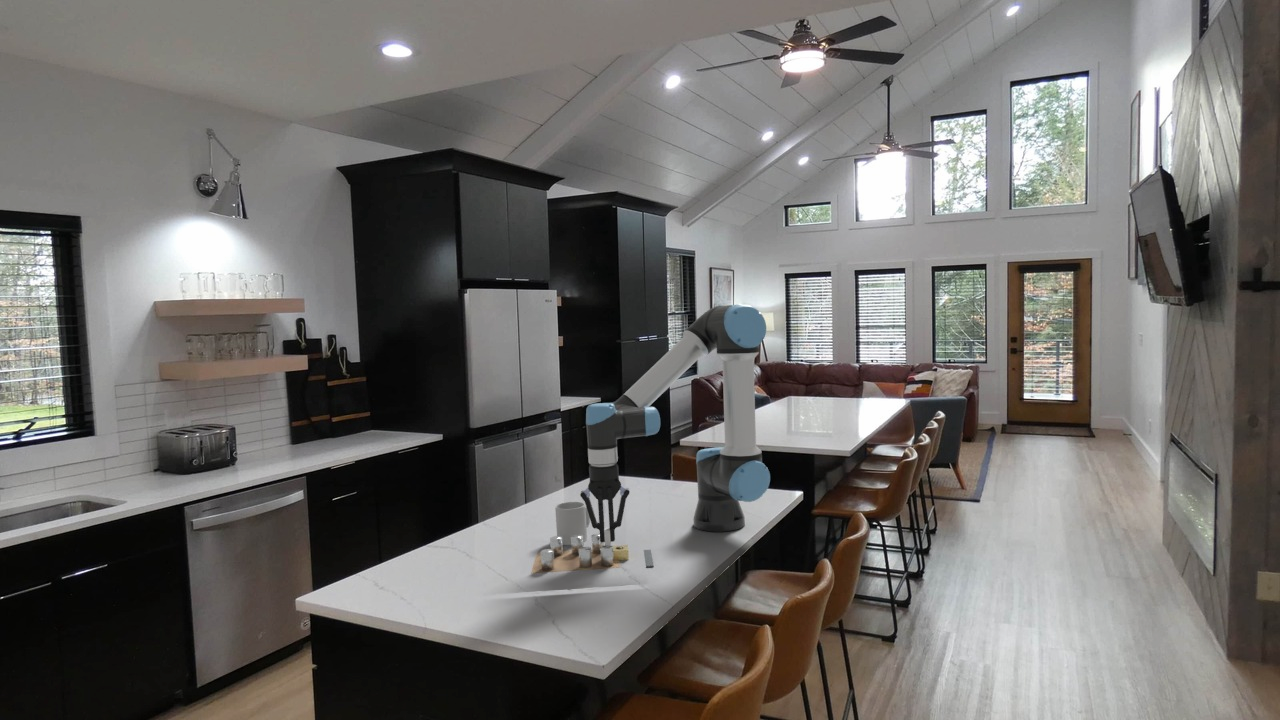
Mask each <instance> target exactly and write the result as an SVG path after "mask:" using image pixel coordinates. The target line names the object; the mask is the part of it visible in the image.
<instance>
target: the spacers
mask: <svg viewBox="0 0 1280 720" xmlns="http://www.w3.org/2000/svg"><path fill="white" fill-rule="evenodd" d="M549 544H550V548H547V549H545V548H544V549H542V550H540V553H541V567H542V570H543V571H550V570H553V569H554V556H561V555H563V551H564V548H563V546H564V545H563V544H562V537H561V536H557V535H554V536H551V537H550V538H549ZM570 546H571V549H570V550H571V551H572V554H573V555H579V566H580V568H590V567H592V553H594V554H600V553H601V566H603V567H611V566H613V565H614V554H613V546H614V545H611V546H610V545H605V542H601V541H600V532H598V533H593V534H591V546H584V543H583V536H582V535H573V536H571V545H570ZM591 549H592V553H591Z"/></svg>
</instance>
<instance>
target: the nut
mask: <svg viewBox="0 0 1280 720" xmlns="http://www.w3.org/2000/svg"><path fill="white" fill-rule="evenodd" d="M612 546H613V554H614V561H616V560H619V561H629V560H630V559H629V558H630V557H629V546H628V544H625V545H623V544H621V545H612Z"/></svg>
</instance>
